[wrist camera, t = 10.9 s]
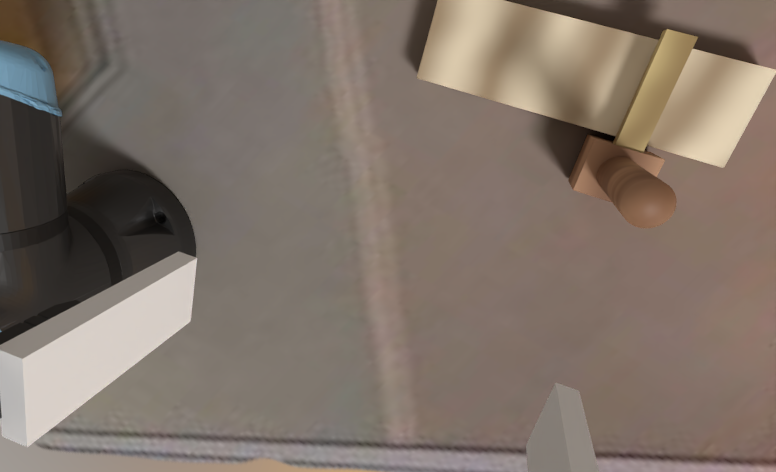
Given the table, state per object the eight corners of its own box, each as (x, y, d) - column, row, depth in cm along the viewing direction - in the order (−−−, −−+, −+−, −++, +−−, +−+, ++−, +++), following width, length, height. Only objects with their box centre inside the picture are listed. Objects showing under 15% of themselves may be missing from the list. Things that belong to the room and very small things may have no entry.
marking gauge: (568, 180, 39) (588, 222, 27) (631, 29, 35) (689, 0, 23) (628, 199, 38) (676, 250, 26) (701, 47, 34) (798, 26, 22)
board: (421, 78, 40) (416, 78, 38) (445, -11, 37) (442, -16, 35) (713, 163, 36) (723, 168, 34) (763, 71, 33) (777, 70, 32)
